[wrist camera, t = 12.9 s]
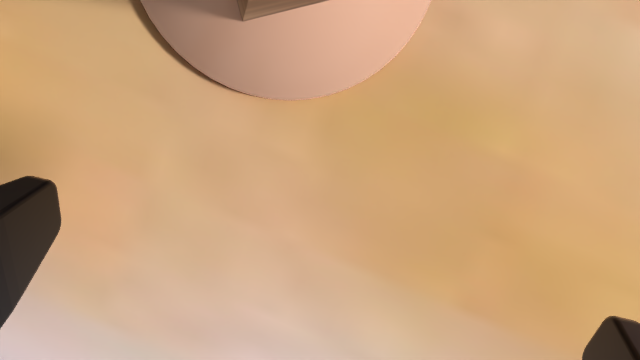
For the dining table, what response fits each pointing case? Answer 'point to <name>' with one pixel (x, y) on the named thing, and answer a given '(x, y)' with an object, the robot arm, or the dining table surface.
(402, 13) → the terracotta coaster
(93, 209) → the dining table surface
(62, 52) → the dining table surface
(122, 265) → the dining table surface
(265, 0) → the walnut block
